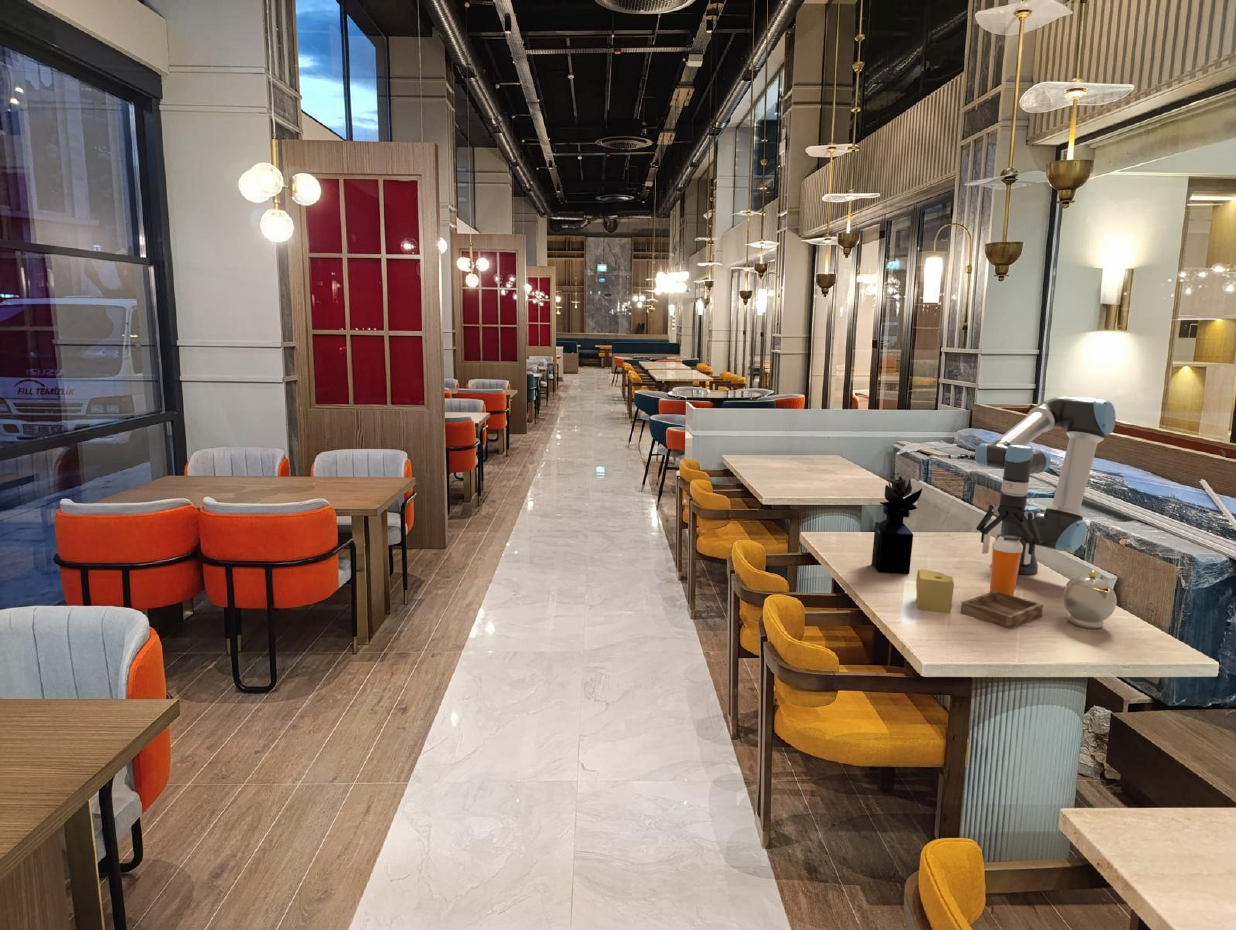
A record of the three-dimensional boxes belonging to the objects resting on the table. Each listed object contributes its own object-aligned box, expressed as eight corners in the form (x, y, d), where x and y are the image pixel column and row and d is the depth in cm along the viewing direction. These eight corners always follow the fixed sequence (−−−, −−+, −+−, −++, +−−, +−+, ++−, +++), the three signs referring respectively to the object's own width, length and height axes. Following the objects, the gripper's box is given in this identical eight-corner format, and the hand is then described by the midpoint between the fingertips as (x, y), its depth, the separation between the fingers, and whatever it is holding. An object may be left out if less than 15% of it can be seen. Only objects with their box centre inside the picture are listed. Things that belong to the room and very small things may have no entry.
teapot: (1125, 634, 229) (1133, 579, 226) (1080, 633, 228) (1087, 578, 225) (1084, 611, 246) (1091, 560, 244) (1042, 611, 245) (1049, 560, 243)
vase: (909, 565, 290) (918, 470, 284) (917, 575, 278) (928, 476, 272) (868, 563, 291) (877, 468, 285) (876, 572, 280) (885, 474, 273)
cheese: (949, 603, 250) (952, 572, 249) (951, 614, 240) (955, 582, 239) (914, 598, 254) (917, 568, 252) (915, 609, 244) (918, 577, 242)
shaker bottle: (1020, 601, 254) (1027, 540, 250) (990, 598, 256) (997, 538, 252) (1012, 592, 263) (1019, 533, 259) (983, 589, 264) (990, 531, 261)
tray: (993, 601, 253) (994, 590, 252) (1041, 615, 241) (1043, 604, 241) (960, 613, 241) (961, 602, 240) (1009, 629, 229) (1010, 617, 229)
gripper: (970, 487, 261) (962, 550, 264) (1048, 502, 241) (1039, 570, 245) (982, 486, 265) (974, 547, 269) (1060, 500, 246) (1050, 566, 249)
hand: (1005, 558), depth 257 cm, fingers open, 13 cm apart
